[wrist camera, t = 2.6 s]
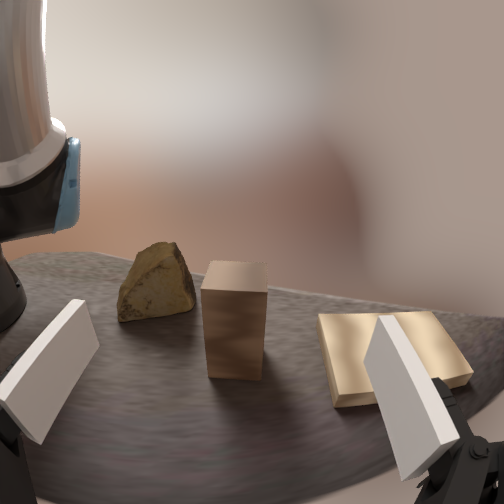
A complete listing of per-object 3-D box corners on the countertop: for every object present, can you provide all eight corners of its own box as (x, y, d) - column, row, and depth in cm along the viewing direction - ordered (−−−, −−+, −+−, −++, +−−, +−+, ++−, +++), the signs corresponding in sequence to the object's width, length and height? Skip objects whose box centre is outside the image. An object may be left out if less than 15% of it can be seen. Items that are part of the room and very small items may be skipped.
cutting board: (333, 407, 21) (339, 394, 21) (316, 327, 32) (318, 313, 32) (465, 384, 21) (473, 371, 20) (425, 322, 32) (430, 311, 31)
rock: (96, 321, 28) (176, 320, 27) (97, 247, 30) (174, 238, 29) (137, 322, 38) (202, 320, 38) (136, 265, 40) (199, 259, 40)
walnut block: (208, 377, 25) (200, 288, 21) (215, 343, 29) (211, 260, 25) (260, 380, 25) (267, 292, 21) (261, 346, 29) (266, 262, 25)
